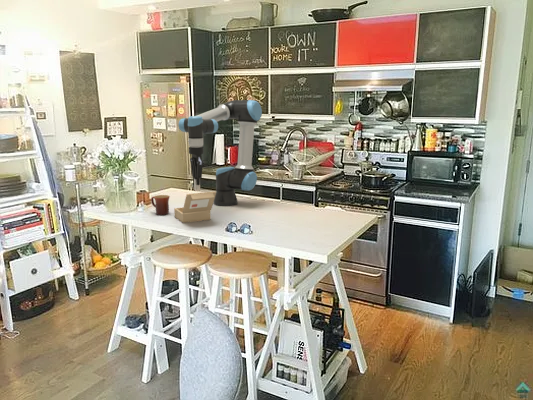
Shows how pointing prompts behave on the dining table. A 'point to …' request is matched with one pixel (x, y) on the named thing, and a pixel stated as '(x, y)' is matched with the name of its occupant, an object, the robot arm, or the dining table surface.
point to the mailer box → (191, 215)
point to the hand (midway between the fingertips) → (197, 190)
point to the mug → (161, 204)
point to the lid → (199, 202)
